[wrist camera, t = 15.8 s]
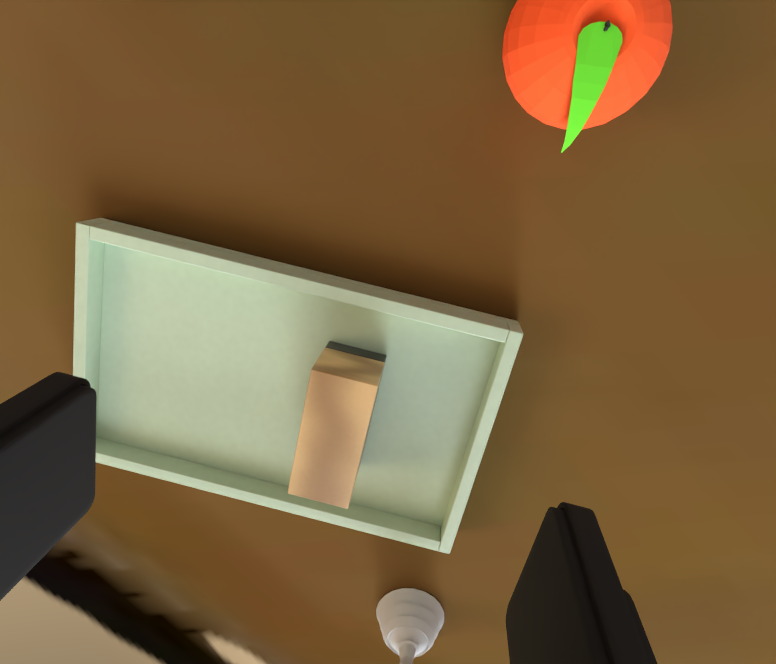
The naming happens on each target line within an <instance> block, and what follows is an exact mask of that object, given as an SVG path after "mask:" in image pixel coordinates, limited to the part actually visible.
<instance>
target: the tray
mask: <svg viewBox="0 0 776 664" xmlns="http://www.w3.org/2000/svg"><path fill="white" fill-rule="evenodd" d="M522 337H523V332H522V329H521V327H520V324H519V322H518V321H516V320H512V319H508V318H504V317H500V316H495V315H491V314H487V313H483V312H479V311H475V310H471V309H467V308H463V307H459V306H455V305H451V304H447V303H443V302H439V301H435V300H431V299H427V298H423V297H419V296H415V295H411V294H407V293H403V292H399V291H395V290H391V289H387V288H383V287H379V286H375V285H371V284H367V283H362V282H358V281H354V280H350V279H346V278H342V277H338V276H334V275H330V274H326V273H322V272H318V271H314V270H310V269H306V268H302V267H298V266H294V265H290V264H286V263H282V262H278V261H274V260H270V259H266V258H262V257H258V256H254V255H250V254H246V253H242V252H238V251H234V250H229V249H225V248H221V247H217V246H213V245H209V244H205V243H201V242H197V241H193V240H189V239H185V238H181V237H177V236H173V235H169V234H165V233H161V232H157V231H153V230H149V229H145V228H141V227H137V226H133V225H129V224H125V223H121V222H117V221H113V220H109V219H105V218H97V219H92V220H86V221H81V222H76V250H75V299H74V347H73V376H77V377H80V378H84V379H87V380H88V381H89V383H90V386H91V388H93V389H95V391H96V396H97V400H96V462H98V463H101V464H105V465H109V466H113V467H117V468H121V469H124V470H128V471H132V472H136V473H140V474H144V475H148V476H151V477H155V478H159V479H163V480H167V481H171V482H174V483H178V484H182V485H186V486H190V487H194V488H197V489H201V490H205V491H209V492H213V493H217V494H220V495H224V496H228V497H232V498H236V499H240V500H244V501H247V502H251V503H255V504H259V505H263V506H267V507H270V508H274V509H278V510H282V511H286V512H290V513H293V514H297V515H301V516H305V517H309V518H313V519H317V520H320V521H324V522H328V523H332V524H336V525H340V526H343V527H347V528H351V529H355V530H359V531H363V532H366V533H370V534H374V535H378V536H382V537H386V538H389V539H393V540H397V541H401V542H405V543H409V544H413V545H416V546H420V547H424V548H428V549H432V550H436V551H437V550H438V551H440V552H444V553H447V554H449V553H450V551H451V548H452V545H453V542H454V539H455V536H456V533H457V530H458V527H459V524H460V522H461V519H462V516H463V513H464V510H465V507H466V504H467V501H468V498H469V495H470V492H471V489H472V486H473V483H474V480H475V477H476V474H477V471H478V468H479V465H480V462H481V459H482V456H483V453H484V450H485V447H486V444H487V441H488V438H489V435H490V432H491V429H492V426H493V423H494V420H495V417H496V414H497V411H498V408H499V405H500V403H501V400H502V397H503V394H504V391H505V388H506V385H507V382H508V379H509V376H510V373H511V370H512V367H513V364H514V361H515V358H516V355H517V352H518V349H519V346H520V343H521V340H522ZM329 341H333V342H337V343H341V344H345V345H349V346H353V347H357V348H361V349H365V350H369V351H372V352H376V353H380V354H384V355H387V357H386V362H385V366H384V370H383V374H382V378H381V382H380V386H379V390H378V394H377V398H376V403H375V407H374V411H373V415H372V419H371V423H370V427H369V431H368V435H367V439H366V443H365V448H364V452H363V456H362V460H361V464H360V468H359V471H358V475H357V479H356V482H355V486H354V489H353V493H352V497H351V500H350V504H349V508H348V509H346V508H342V507H338V506H334V505H330V504H327V503H323V502H319V501H315V500H311V499H307V498H304V497H300V496H296V495H292V494H288V487H289V482H290V477H291V472H292V466H293V461H294V456H295V451H296V446H297V440H298V435H299V430H300V425H301V420H302V414H303V409H304V404H305V399H306V393H307V388H308V383H309V378H310V373H311V369H312V367H313V366H314V364H315V363H316V361H317V359H318V358H319V356H320V354H321V353H322V351H323V350H324V348H325V347H326V345H327V344H328V342H329Z"/></svg>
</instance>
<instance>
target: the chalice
mask: <svg viewBox="0 0 776 664" xmlns="http://www.w3.org/2000/svg"><path fill="white" fill-rule="evenodd" d="M376 613H377V619H378V621H379V623H380V629H381V631H382V633H383V639H384V641H385V643H386V644H387V646H388V647H389V648H390V649H391V650H392V651H393V652H394V653H396V654H398V655H399V656H400V663H399V664H413V659H414V657H419V656H421V655H423V654H424V653H426V652H427V651H428V650H429V649H430V648H431V647H432V646H433V643H434V640H435V639H436V638H437V635H438V632H439V630H440V629H441V628H442V625H443V623H444V611H443V609H442V607H441V604H440V603H439V602H438V601H437V600H436V599H435V598H434V597H433V596H431V595H430V594H428V593H426V592H424V591H421V590H417V589H414V588H402V589H397V590H393V591H391V592H390V593H388V594H386V595H384V597H383V598H382V599H381V600H380V601H379V603H378V606H377V609H376Z"/></svg>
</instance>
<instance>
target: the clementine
mask: <svg viewBox="0 0 776 664" xmlns="http://www.w3.org/2000/svg"><path fill="white" fill-rule="evenodd" d="M672 30H673V24H672V12H671V4H670V1H669V0H517V2H516V4H515V6H514V7H513V9H512V11H511V13H510V17H509V20H508V23H507V26H506V30H505V33H504V42H503V56H502V58H503V64H504V69H505V75H506V80H507V82H508V84H509V87H510V89H511V91H512V93H513V95H514V97H515V99H516V100H517V101H518V102H519V104H520V105H521V106H522V107H523V108H524V109H525V111H526V112H527V113H529V114H530V115H532V116H533V117H535V118H536V119H538V120H540V121H541V122H543V123H544V124H547V125H551V126H554V127H558V128H561V129H567V130H566V136H565V141H564V145H563V148H562V151H561V153H562V152H563V151H564V150H565V149H566V148H567V147H568V146H569V145H570V144H571V143H572V142H573V140H574V139H575V138H576V136H577V135H578V134H579V132H580V131H581V130H582V129H587V128H590V127H594V126H598V125H602V124H605V123H607V122H608V121H610V120H612V119H614V118H616V117H617V116H619V115H621V114H623V113H624V112H626V111H627V110H629V109H630V108H631V107H632V106H633V105H634V104H635V103H636V102H637V101H639V100H640V99H641V98H642V97H643V96H644V95H645V94H646V93H647V92H648V90H649V89H650V87H651V86H652V84H653V83H654V82H655V80H656V79H657V77H658V76H659V75H660V72H661V70H662V67H663V65H664V63H665V60H666V58H667V55H668V53H669V49H670V42H671V36H672Z"/></svg>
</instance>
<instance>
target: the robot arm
mask: <svg viewBox="0 0 776 664" xmlns="http://www.w3.org/2000/svg"><path fill="white" fill-rule="evenodd" d="M96 400H97V396H96V391H95V389H93V388H91V386H90V383H89V381H88V380H87V379H84V378H80V377H77V376H73V375H69V374H65V373H61V372H56V373H53V374H51V375H49V376H48V377H46V378H44V379H42V380H41V381H39V382H37V383H36V384H34V385H32V386H31V387H29V388H27V389H25V390H24V391H22V392H20V393H19V394H17V395H15V396H14V397H12V398H10V399H8V400H7V401H5V402H3V403H2V404H0V600H1V599H2V598H3V597H4V596H5V595H6V594H7V593H8V592H9V591H10V590H11V589H12V588H13V587H14V586H15V585H16V584H17V583H18V582H19V581H20V580H21V579H22V578H23V577H24V576H25V575H26V574H27V573H28V572H29V571H30V570H31V569H32V568H33V567H34V566H35V565H36V564H37V563H38V562H39V561H40V560H41V559H42V558H43V556H44V555H45V554H46V553H47V552H48V551H49V550H50V549H51V548H52V547H53V546H54V545H55V544H56V543H57V542H58V541H59V540H60V539H61V538H62V537H63V536H64V535H65V534H66V533H67V532H68V531H69V530H70V529H71V528H72V527H73V526H74V525H75V524H76V523H77V522H78V521H79V520H80V519H81V518H82V517H83V516H84V515H85V514H86V512H87V511H88V510H89V508H90V507H91V505H92V503H93V500H94V497H95V462H96ZM506 629H507V638H508V648H509V657H510V664H657V662H656V659H655V656H654V654H653V651H652V649H651V646H650V643H649V641H648V638H647V636H646V633H645V631H644V628H643V625H642V623H641V620H640V618H639V615H638V612H637V610H636V607H635V605H634V602H633V600H632V598H631V596H630V595H629V594H628V593H627V592H626V591H625V590H623V589H622V586H621V584H620V581H619V578H618V576H617V573H616V570H615V567H614V565H613V562H612V559H611V557H610V554H609V551H608V549H607V546H606V543H605V541H604V538H603V535H602V533H601V530H600V527H599V525H598V522H597V519H596V516H595V514H594V512H593V511H592V510H591V509H588V508H584V507H580V506H576V505H573V504H569V503H565V502H562V503H560V504H559V506H558V507H557V508H554V507H550V508H549V509H548V511H547V513H546V515H545V517H544V520H543V522H542V525H541V527H540V530H539V532H538V534H537V537H536V539H535V542H534V544H533V546H532V549H531V551H530V554H529V556H528V558H527V561H526V563H525V566H524V568H523V571H522V573H521V575H520V578H519V580H518V583H517V585H516V587H515V590H514V592H513V595H512V597H511V600H510V602H509V605H508V608H507V614H506Z"/></svg>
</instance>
